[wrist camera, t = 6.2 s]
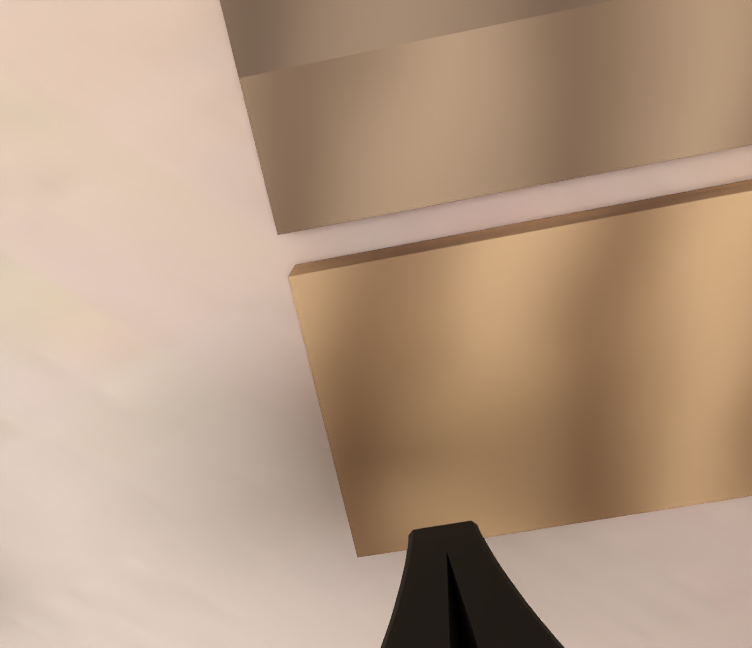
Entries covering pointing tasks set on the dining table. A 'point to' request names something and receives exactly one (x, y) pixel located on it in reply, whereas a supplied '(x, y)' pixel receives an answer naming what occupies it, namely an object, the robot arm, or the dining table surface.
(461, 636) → the robot arm
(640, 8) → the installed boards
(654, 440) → the teak plank
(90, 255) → the dining table surface
